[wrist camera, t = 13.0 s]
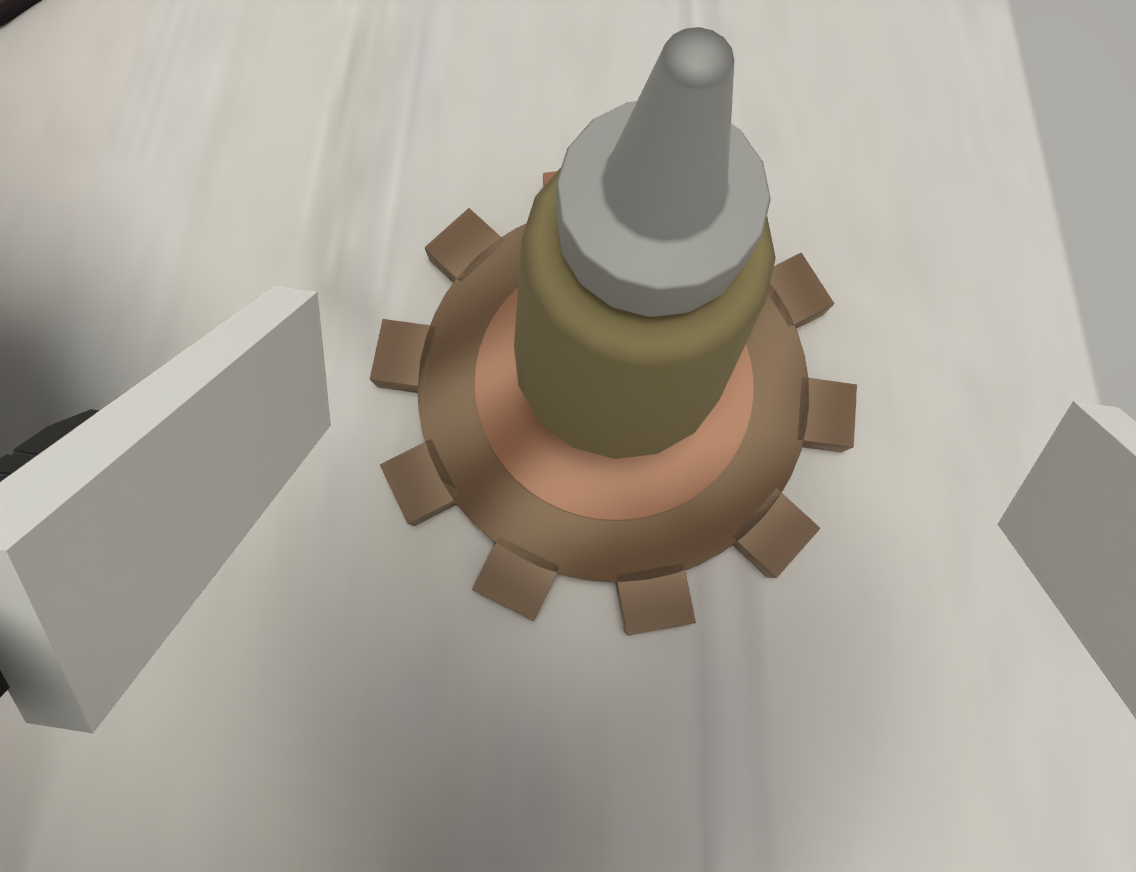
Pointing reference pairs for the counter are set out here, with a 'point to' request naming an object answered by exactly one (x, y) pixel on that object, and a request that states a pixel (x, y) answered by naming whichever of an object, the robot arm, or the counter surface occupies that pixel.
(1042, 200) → the counter surface
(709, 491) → the sprocket disc
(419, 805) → the counter surface
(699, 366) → the squeeze bottle
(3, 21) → the salad plate
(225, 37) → the counter surface
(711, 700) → the counter surface
